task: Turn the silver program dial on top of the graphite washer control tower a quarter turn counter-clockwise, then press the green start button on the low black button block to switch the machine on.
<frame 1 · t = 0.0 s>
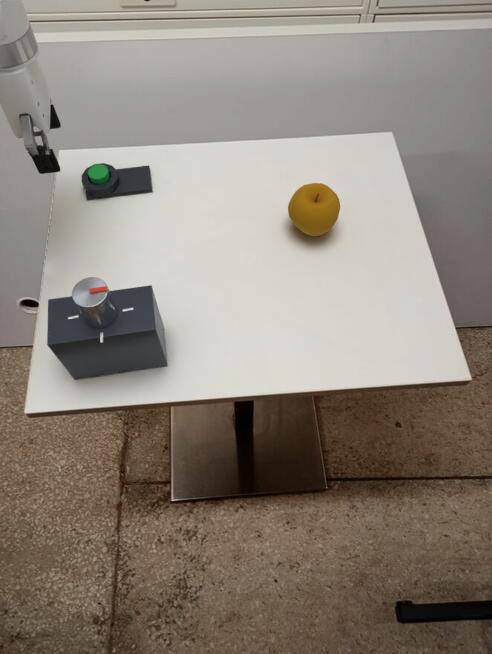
hand: (50, 149, 78), 14 cm above the table, tool pointing down, fingers open, 9 cm apart
dial panel: (120, 352, 77), on the table
button block: (119, 184, 94), on the table
start button: (99, 174, 91), point 3 cm above the table, slide at 0.1 cm
program dial: (95, 302, 64), point 15 cm above the table, hinge at 0.0°
apple: (310, 228, 89), on the table
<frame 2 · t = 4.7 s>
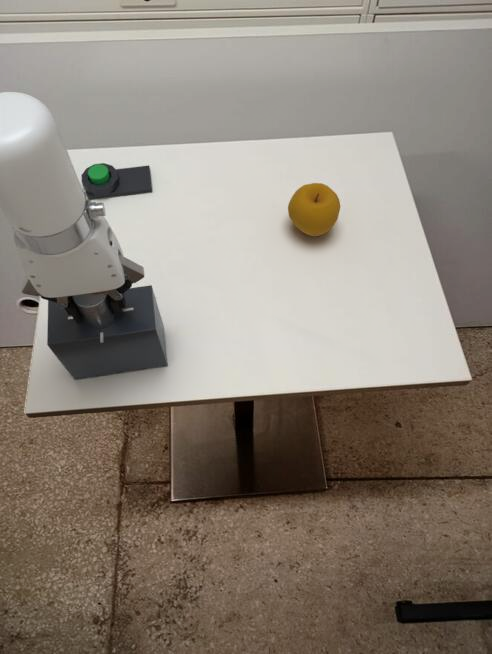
hand: (99, 310, 66), 13 cm above the table, tool pointing down, fingers closed on program dial, 4 cm apart
program dial: (95, 302, 64), point 15 cm above the table, hinge at -0.1°, touching gripper
everything else where it was.
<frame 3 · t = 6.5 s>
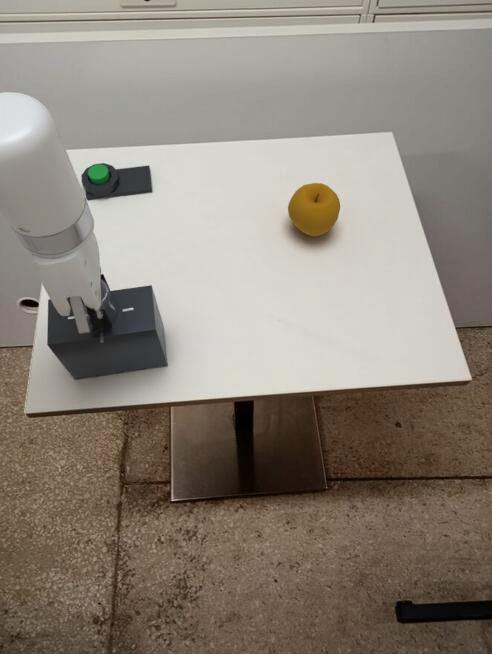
hand: (98, 310, 66), 13 cm above the table, tool pointing down, fingers closed on program dial, 4 cm apart
program dial: (95, 302, 64), point 15 cm above the table, hinge at 91.0°, touching gripper
everything else where it was.
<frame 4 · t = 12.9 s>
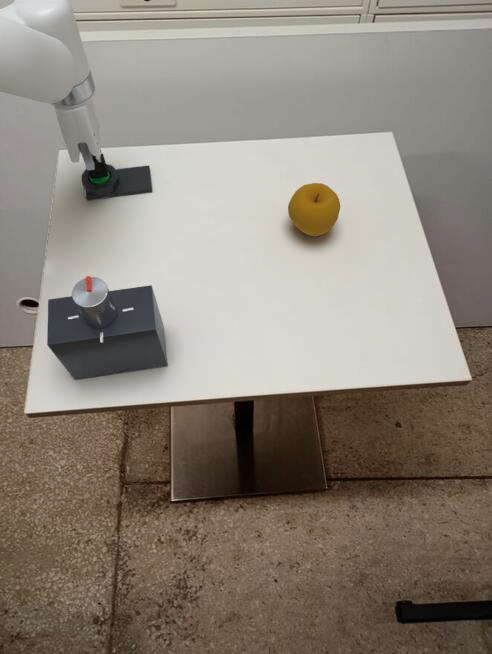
hand: (99, 174, 91), 3 cm above the table, tool pointing down, fingers closed
start button: (100, 178, 91), point 2 cm above the table, slide at -0.8 cm, touching gripper
program dial: (95, 302, 64), point 15 cm above the table, hinge at 93.0°
everything else where it was.
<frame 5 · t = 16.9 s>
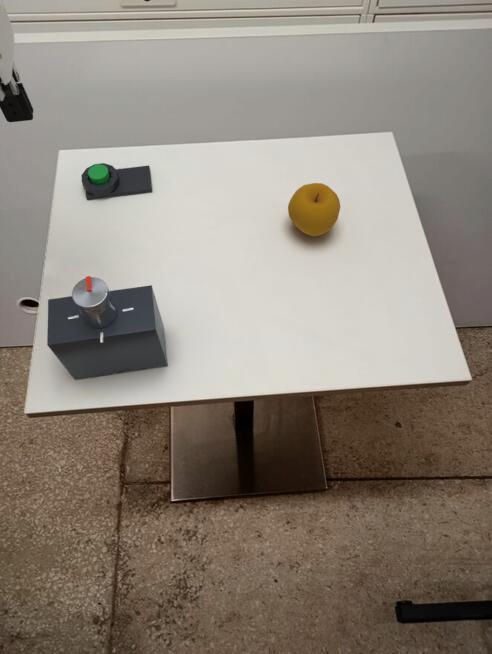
hand: (20, 116, 63), 27 cm above the table, tool pointing down, fingers closed
start button: (99, 174, 91), point 3 cm above the table, slide at 0.1 cm
everything else where it was.
at the end: program dial at +93° (first picture: +0°); start button pushed in 0.8 cm at the most during the clip, back to where it started at the end; start button slide at 0.1 cm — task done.
